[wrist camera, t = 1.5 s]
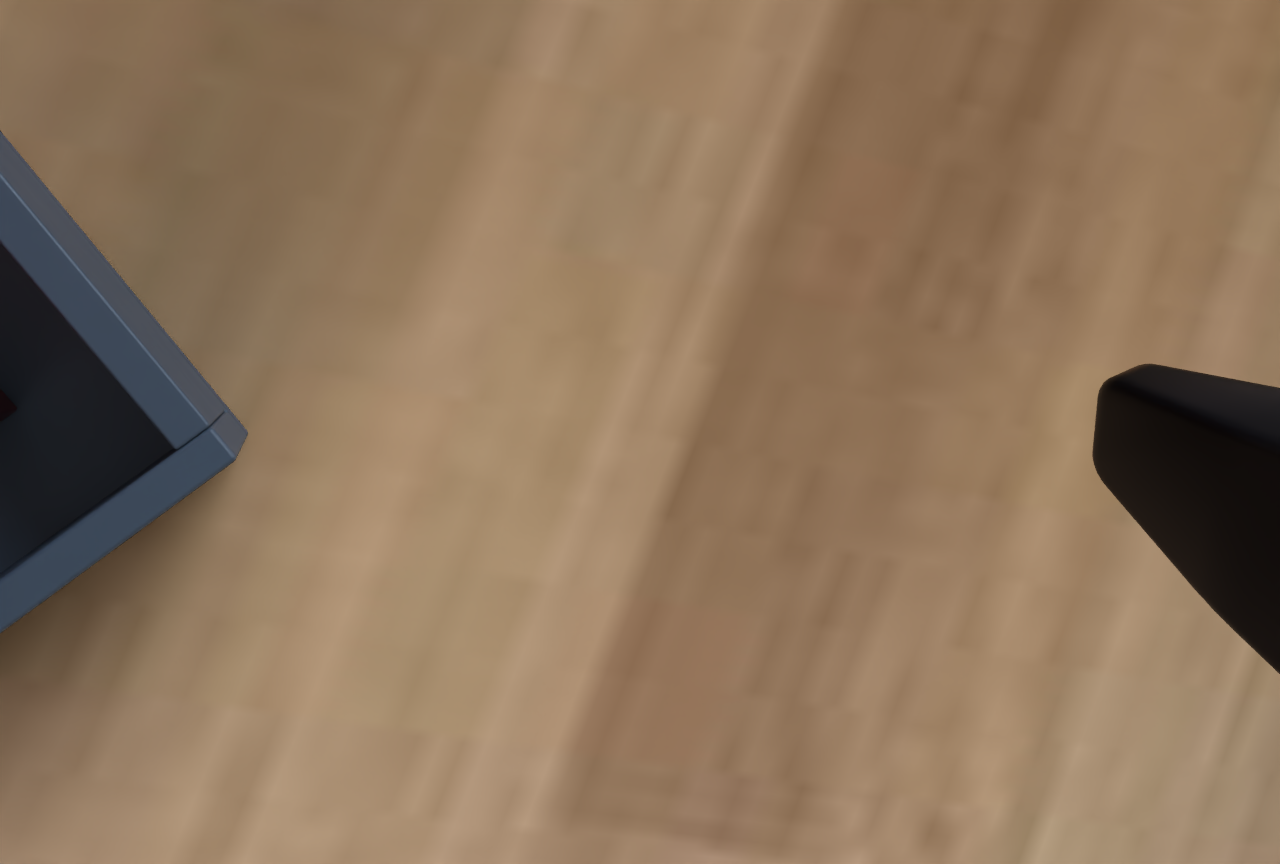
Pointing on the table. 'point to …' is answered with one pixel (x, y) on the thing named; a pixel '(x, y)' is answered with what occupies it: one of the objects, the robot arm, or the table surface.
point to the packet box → (85, 402)
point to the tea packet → (6, 406)
